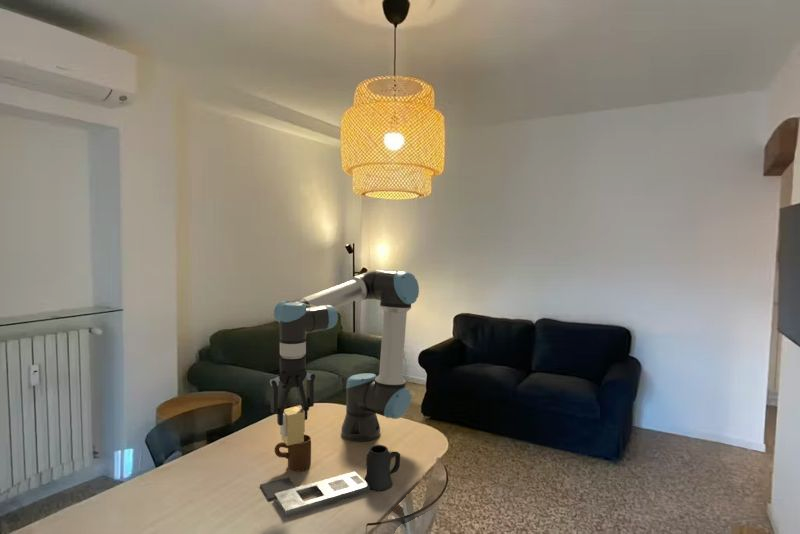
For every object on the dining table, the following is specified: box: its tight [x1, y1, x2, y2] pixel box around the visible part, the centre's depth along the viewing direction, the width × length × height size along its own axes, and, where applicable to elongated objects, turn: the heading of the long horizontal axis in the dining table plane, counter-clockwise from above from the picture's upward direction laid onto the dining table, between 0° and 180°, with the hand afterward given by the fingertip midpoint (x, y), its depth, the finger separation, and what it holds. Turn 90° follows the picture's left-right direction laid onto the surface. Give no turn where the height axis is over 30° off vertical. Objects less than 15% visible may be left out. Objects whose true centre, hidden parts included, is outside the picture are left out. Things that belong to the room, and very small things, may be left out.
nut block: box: [281, 406, 305, 446], centre depth 138 cm, size 5×5×9 cm
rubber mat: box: [259, 476, 297, 501], centre depth 141 cm, size 9×9×1 cm
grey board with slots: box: [274, 471, 371, 519], centre depth 138 cm, size 26×10×2 cm, turn 122°
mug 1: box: [274, 434, 312, 472], centre depth 154 cm, size 12×8×9 cm, turn 116°
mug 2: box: [363, 444, 401, 493], centre depth 146 cm, size 12×9×11 cm
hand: (292, 432), depth 138 cm, fingers closed on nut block, 5 cm apart
